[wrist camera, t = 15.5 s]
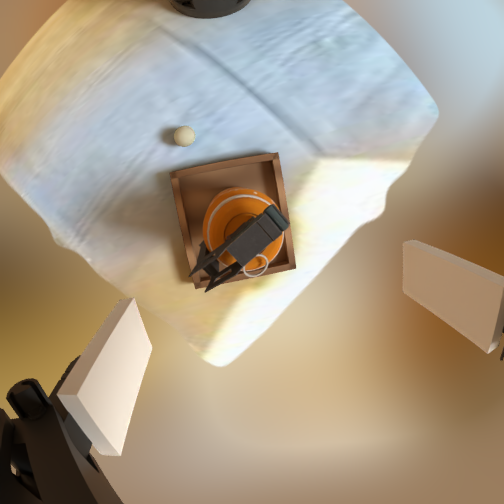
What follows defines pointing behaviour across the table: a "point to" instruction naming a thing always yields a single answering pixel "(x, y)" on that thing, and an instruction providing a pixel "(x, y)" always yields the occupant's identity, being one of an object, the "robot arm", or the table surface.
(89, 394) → the robot arm
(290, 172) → the table surface
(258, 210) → the canister
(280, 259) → the tray
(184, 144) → the ball
